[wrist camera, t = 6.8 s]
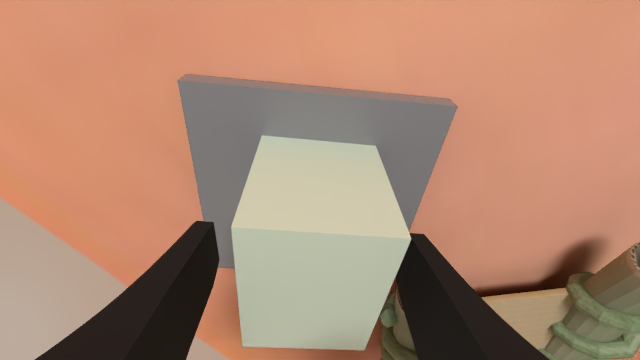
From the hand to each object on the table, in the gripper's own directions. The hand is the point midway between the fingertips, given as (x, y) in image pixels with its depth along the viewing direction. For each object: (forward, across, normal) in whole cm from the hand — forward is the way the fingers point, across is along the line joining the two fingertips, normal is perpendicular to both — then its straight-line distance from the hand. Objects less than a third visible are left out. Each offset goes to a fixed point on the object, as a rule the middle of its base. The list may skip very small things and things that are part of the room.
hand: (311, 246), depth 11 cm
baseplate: (+3, 0, 0) cm, 3 cm away
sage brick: (+3, 0, 0) cm, 3 cm away
